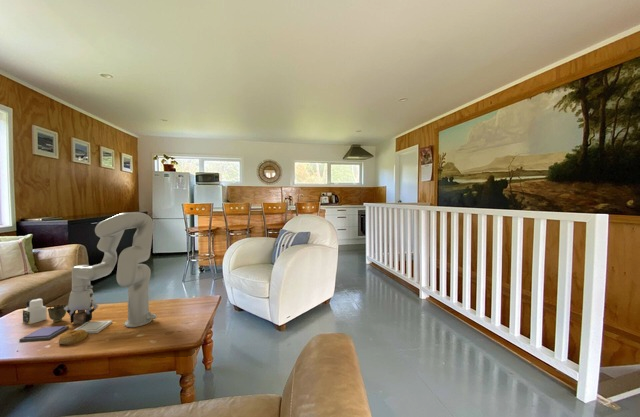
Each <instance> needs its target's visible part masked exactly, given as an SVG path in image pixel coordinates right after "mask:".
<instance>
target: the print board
mask: <svg viewBox="0 0 640 417" xmlns="http://www.w3.org/2000/svg"><path fill="white" fill-rule="evenodd" d="M112 323H113V320H111V319H110V320H100V321H99V320H97V321H88V322H86V323H85V324H83V325H79V326H78V327H76V328H75V329H74V330H81V329H83V330H85V331H86V332H87V333H88V335H89V334H98V333H99V332H101V331H102V330H104V329H105V328H107V327H108V326H109V325H111V324H112Z"/></svg>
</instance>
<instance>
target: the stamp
mask: <svg viewBox="0 0 640 417" xmlns="http://www.w3.org/2000/svg"><path fill="white" fill-rule="evenodd" d="M75 313H76V314H74V322H73V326H81V325H83V324H85V323H86V315H87V312H86V310H77V312H75Z"/></svg>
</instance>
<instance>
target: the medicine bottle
mask: <svg viewBox="0 0 640 417" xmlns="http://www.w3.org/2000/svg"><path fill="white" fill-rule="evenodd" d="M47 314H48V307H47V306H44V300H43V298H41V297H36V298H35V297H34V298H31V299H29V300H27V301H26V308H23V309H22V323H25V324H27V325H32V324H36V323H38V322H43V321H46V320H47V319H48V315H47Z"/></svg>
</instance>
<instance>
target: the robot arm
mask: <svg viewBox="0 0 640 417" xmlns="http://www.w3.org/2000/svg"><path fill="white" fill-rule="evenodd" d="M154 228H155V224H154V220H153V219H152V218H151V216H150V215H148V214H147V213H144V212H141V211H140V212H139V211H132V212H121V213H119V214H116V215H114V216H112V217H109V218H106V219H105V220H102V221H100V222H98V223H97V224H96V226H95V227H94V233H95V235H96V236H97V237H98V238H100V239H99V241H98V242H97V245H96V248H97V249H98V250H99V251H100V252H103V253H104V255H103V258H102V260H101V262H100V263H98V264H97V263H96V264H93V265H90V264H79V265H75V266H72V268H71V292H70V293H69V297H68V303H67V304H66V305H65V306H66V307H64V309H65V310H66V314H68V315H69V317H70V324H72V323H73V324H74V314H76V313H77V311H78V310H85V311H86V312H87V315H86V322H91V321H92V320H93V313H94V312H95V311H96V309H98V307H99V305H98V304H97V303H96V302H95V295H94V294H95V293H94V291H93V287H94V286H93V285H92V284H91V281H95V280H98V279H101V278H103V277H106V276H108V275H110V274H112V271H113V270H114V268H115V266H116V264H117V270H116V275H115V276H116V282H117V284H118V285H119V286H120V287H122V288H128V289H127V319H126V320H125V322H124V323H123V325H124V327H126V328H137V327H141V326H145V325H147V324H149V323H150V322H152V321H153V320H156V319H157V317H158V316H157V314H156V313H152V312H151V311H150V303H149V302H150V299H149V298H150V281H151V274H152V271H151V268H150V267H149V266H148V264H145V263H144V262H146V261H148V260H149V259H150V257H151V251H152V250H151V249H152V244H153V241H152V240H153V235H154V234H153V233H154ZM129 229H136V230H135V233H134V234H133V237H132V244H131V245H132V246H128V247H126V248H124V249H123V250H121V252H120V253H119V255H118V252H117V248H118V246H119V244H120V241H121V239H122V237H123V235H124V233H125V230H129Z"/></svg>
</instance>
